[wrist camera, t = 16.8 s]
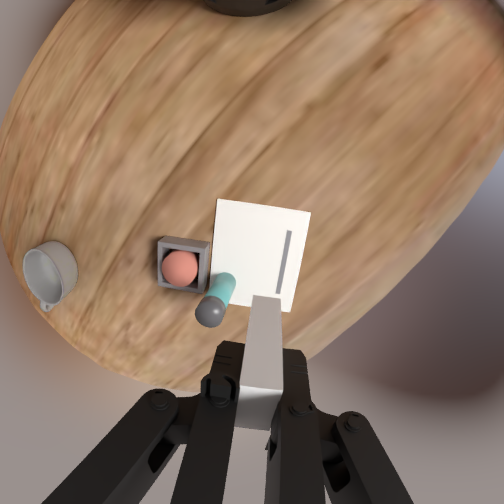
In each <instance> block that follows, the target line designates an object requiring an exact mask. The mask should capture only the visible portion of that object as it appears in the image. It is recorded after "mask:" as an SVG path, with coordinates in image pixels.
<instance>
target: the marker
mask: <svg viewBox="0 0 504 504" xmlns="http://www.w3.org/2000/svg"><path fill="white" fill-rule="evenodd" d="M235 286H236V280H235V278H234V276H233V275H231V274H230V273H226V272H223V273H220V274H219V275H218V276H217V277H216V279H215V280H214V282H213V284H212V285H211V287H210V288H209V290H208V292H207V293H206V295H205V297H204V298H203V299H202V300H201V302H200V303H199V305H198V306H197V308H196V310H195V317H196V319H197V321H198V322H199V323H200V324H202V325H203V326H205V327H210V328H212V327H216V326H218V325H219V324H220V323H221V322H222V319H223V317H224V314H225V312H226V308H227V305H228V303H229V300H230V298H231V296H232V293H233V291H234V289H235Z"/></svg>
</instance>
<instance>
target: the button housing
mask: <svg viewBox="0 0 504 504" xmlns="http://www.w3.org/2000/svg"><path fill="white" fill-rule="evenodd" d="M169 248H172V249H179V250H185V251H191V252H198V253H200V260H199V276H198V279H194V280H193V281H192V282H191V283H190V284H189V285H187V286H184V287H178V286H174V285H172V284H171V283H169V282H168V281H167V280H166V279H165V277H164V275H163V273H162V263H163V261H164V259H165V258H166V257H167V256H168V255H169ZM209 249H210V242H205V241H198V240H192V239H185V238H178V237H171V236H164V237H163V238H162V239H161V240H159V241H158V286H163V287H168V288H173V289H178V290H183V291H189V292H194V293H200V294H202V293H203V291H204V289H205V287H206V285H207V274H208V261H209Z"/></svg>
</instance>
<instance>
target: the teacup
mask: <svg viewBox="0 0 504 504" xmlns="http://www.w3.org/2000/svg"><path fill="white" fill-rule="evenodd" d="M23 273H24V277H25V280H26V283H27V285H28V287H29V289H30V290H31V292H32V293H33V294H34V295H35V296H36V297H37V298H38V299H39V300H40V308H41V309H42V310H43V311H44V312H49V311H50V310H51V309H52V308H53V306H54V305H57V304H59V303H60V302H61V300H62V299H63V298H64V297H65V296H66V295H67V294H69V293H70V292H71V290H72V289H73V288H74V287H75V285H76V283H77V279H78V267H77V263H76V260H75V258H74V256H73V254H72V253H71V251H70V250H69V249H68V248H67V247H66V246H65V245H63V244H62V243H60V242H56V241H50V242H46V243H44V244H41V245H39V246H38V247H36V248H34V249H31V250H29V251H28V252H27V253H26V254H25V256H24V259H23Z"/></svg>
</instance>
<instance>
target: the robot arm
mask: <svg viewBox="0 0 504 504" xmlns="http://www.w3.org/2000/svg"><path fill="white" fill-rule="evenodd" d="M291 1H292V0H204V2H205V3H206V4H207V5H208V6H209V7H211V8H212V9H214V10H216V11H218V12H221V13H224V14H228V15H234V16H257V15H263V14H267V13H270V12H273V11H276V10H278V9H280V8H282V7H284V6H286V5H287V4H288V3H290V2H291ZM307 373H308V371H307V363H306V357H305V356H304V354H303V353H302V352H301V350H294V349H285V348H282V320H281V299H279V298H272V297H265V296H258V295H253V298H252V305H251V311H250V318H249V324H248V330H247V337H246V343H245V344H243V343H237V342H230V341H225V340H224V341H223V342H222V343H221V344H219V345H218V346H217V349H216V353H215V356H214V360H213V363H212V367H211V370H210V373H209V374H207V375H206V376H204V377H203V379H202V380H201V393H199V394H198V395H195V396H192V397H176V396H175V395H174V394H173V393H171V392H170V391H168V390H165V389H153V390H150V391H148V392H146V393H145V394H144V395H143V396H142V397H141V398H140V399H139V400H138V402H136V403H135V405H134V406H133V407H132V408H131V409H130V410H129V411H128V412H127V413H126V414H125V415H124V417H123V418H122V419H121V420H120V421H119V422H118V423H117V424H116V425H115V426H114V427H113V429H112V430H111V431H110V432H109V433H108V434H107V435H106V436H105V437H104V438H103V439H102V440H101V441H100V443H99V444H98V445H97V446H96V447H95V448H94V449H93V450H92V451H91V452H90V453H89V454H88V455H87V457H86V458H85V459H84V460H83V461H82V462H81V463H80V464H79V465H78V466H77V467H76V468H75V469H74V470H73V471H72V472H71V473H70V474H69V475H68V477H67V478H66V479H65V480H64V481H63V482H62V483H61V484H60V485H59V486H58V487H57V488H56V489H55V490H54V491H53V492H52V493H51V494H50V495H49V496H48V497H47V498H46V499H45V500H44V501H43V502H42V504H139V502H140V501H141V500H142V498H143V497H144V496H145V494H146V493H147V491H148V490H149V489H150V487H151V486H152V485H153V483H154V482H155V480H156V479H157V478H158V476H159V475H160V473H161V472H162V470H163V469H164V467H165V466H166V464H167V463H168V461H169V460H170V459H171V457H172V456H173V454H174V453H175V452H176V450H177V449H178V447H179V446H180V444H187V446H186V449H185V452H184V456H183V460H182V463H181V467H180V470H179V474H178V478H177V481H176V485H175V488H174V492H173V496H172V499H171V503H170V504H222V501H223V495H224V489H225V482H226V476H227V469H228V463H229V457H230V450H231V443H232V437H233V431H234V426H235V427H242V428H249V429H258V430H267V431H269V430H270V427H271V435H270V438H269V440H268V443H267V445H266V448H265V450H268V455H267V472H266V488H265V501H264V504H325V488H324V485H325V487H326V490H327V493H328V495H329V498H330V501H331V503H332V504H414V503H413V501H412V500H411V498H410V496H409V494H408V492H407V490H406V488H405V486H404V485H403V483H402V481H401V479H400V477H399V475H398V474H397V472H396V470H395V468H394V466H393V465H392V463H391V461H390V459H389V457H388V455H387V454H386V452H385V450H384V448H383V447H382V445H381V443H380V441H379V439H378V438H377V436H376V434H375V432H374V430H373V428H372V427H371V425H370V423H369V421H368V420H367V419H366V418H365V416H363V415H362V414H360V413H358V412H353V411H349V412H345V413H342V414H341V415H340V416H339V417H337V416H334V415H330V414H326V413H324V412H322V411H320V410H319V409H317V408H316V406H315V404H314V403H313V402H312V401H311V396H310V388H309V380H308V374H307Z"/></svg>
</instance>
